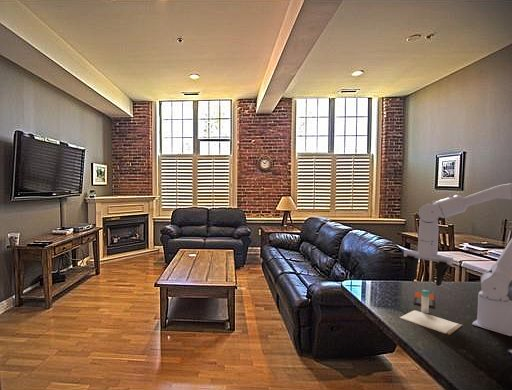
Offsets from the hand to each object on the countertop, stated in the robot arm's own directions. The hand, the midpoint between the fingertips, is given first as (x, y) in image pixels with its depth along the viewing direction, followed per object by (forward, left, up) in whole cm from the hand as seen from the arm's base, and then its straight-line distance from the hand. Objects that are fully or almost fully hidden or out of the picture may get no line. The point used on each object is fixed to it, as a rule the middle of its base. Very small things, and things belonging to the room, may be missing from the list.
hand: (426, 282), depth 106 cm
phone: (+5, -12, -11) cm, 17 cm away
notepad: (-4, +7, -10) cm, 13 cm away
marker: (0, 0, -10) cm, 10 cm away
